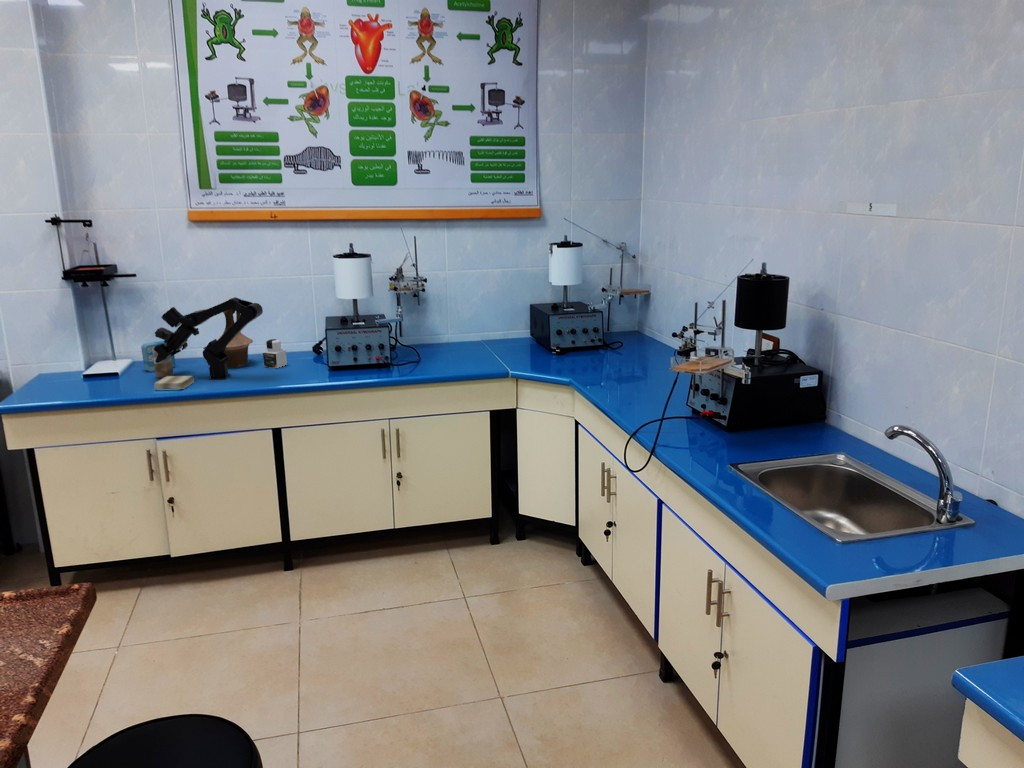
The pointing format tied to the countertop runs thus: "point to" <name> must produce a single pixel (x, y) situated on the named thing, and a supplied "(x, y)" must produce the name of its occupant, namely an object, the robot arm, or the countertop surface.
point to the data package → (148, 355)
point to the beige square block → (174, 382)
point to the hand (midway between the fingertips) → (159, 360)
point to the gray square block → (162, 366)
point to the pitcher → (236, 343)
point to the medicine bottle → (274, 354)
